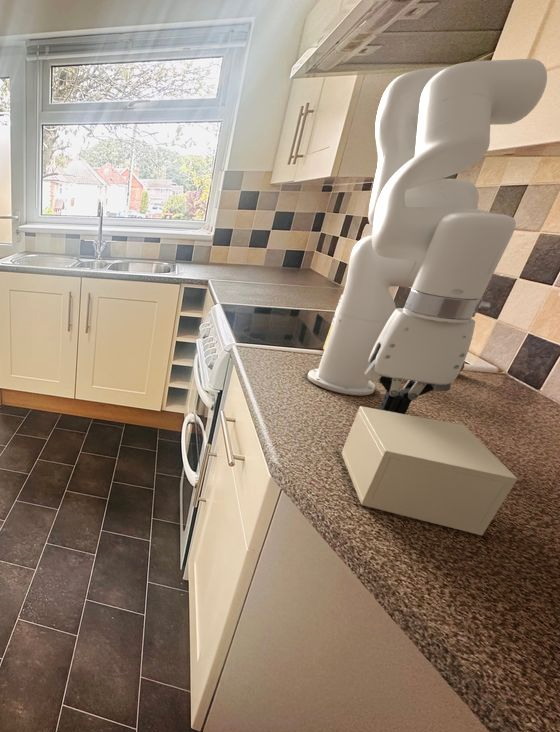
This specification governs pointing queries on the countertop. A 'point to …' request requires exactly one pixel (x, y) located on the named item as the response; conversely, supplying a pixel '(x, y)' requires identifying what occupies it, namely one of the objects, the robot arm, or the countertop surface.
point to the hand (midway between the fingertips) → (389, 416)
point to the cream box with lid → (425, 470)
